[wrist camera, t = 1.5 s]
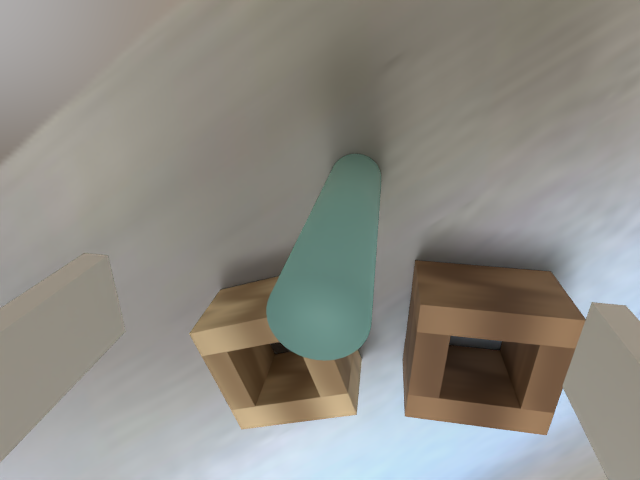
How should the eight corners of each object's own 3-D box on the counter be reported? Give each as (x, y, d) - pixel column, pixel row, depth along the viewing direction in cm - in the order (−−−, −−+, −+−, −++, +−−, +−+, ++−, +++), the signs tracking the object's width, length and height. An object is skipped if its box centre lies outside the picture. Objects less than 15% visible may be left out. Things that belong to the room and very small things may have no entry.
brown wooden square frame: (402, 359, 29) (404, 416, 25) (415, 260, 26) (420, 304, 21) (521, 373, 28) (546, 435, 24) (550, 271, 25) (586, 320, 20)
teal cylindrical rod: (329, 201, 25) (268, 354, 12) (331, 152, 24) (263, 266, 11) (379, 204, 25) (367, 366, 12) (383, 155, 23) (374, 277, 11)
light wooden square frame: (262, 375, 32) (241, 429, 27) (220, 289, 29) (189, 333, 24) (361, 359, 30) (356, 414, 25) (326, 264, 27) (313, 307, 22)
